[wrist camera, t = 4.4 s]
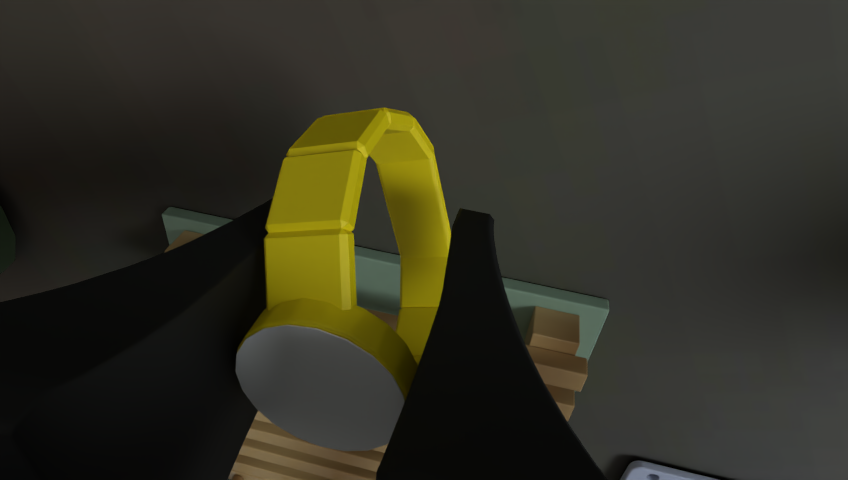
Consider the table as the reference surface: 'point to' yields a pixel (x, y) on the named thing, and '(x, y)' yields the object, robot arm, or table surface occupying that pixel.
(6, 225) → the character mug
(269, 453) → the dish rack
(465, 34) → the table surface
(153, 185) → the table surface
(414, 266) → the watch
